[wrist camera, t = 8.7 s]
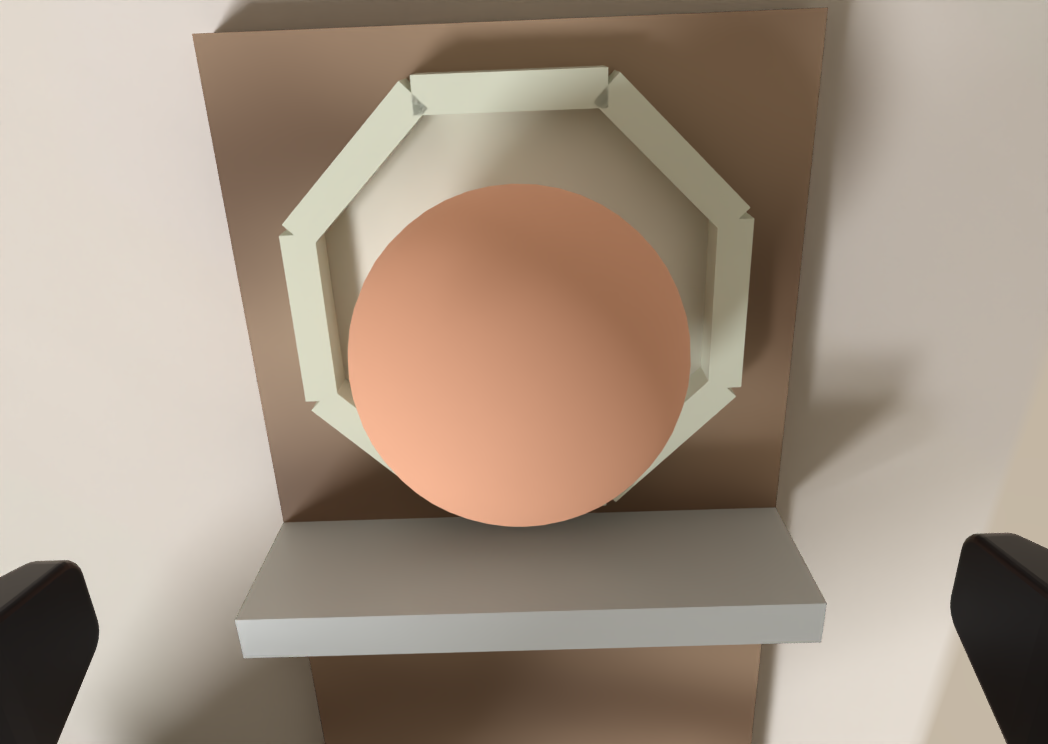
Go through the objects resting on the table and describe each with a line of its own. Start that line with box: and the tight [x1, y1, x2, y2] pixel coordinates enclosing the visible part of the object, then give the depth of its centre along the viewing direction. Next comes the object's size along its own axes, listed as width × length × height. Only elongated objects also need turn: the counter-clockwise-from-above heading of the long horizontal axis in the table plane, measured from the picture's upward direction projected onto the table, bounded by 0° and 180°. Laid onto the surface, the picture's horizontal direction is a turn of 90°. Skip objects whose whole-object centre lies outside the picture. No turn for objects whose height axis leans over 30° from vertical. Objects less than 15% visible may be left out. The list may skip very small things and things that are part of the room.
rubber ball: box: [348, 184, 691, 527], centre depth 14 cm, size 6×6×6 cm
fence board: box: [192, 8, 828, 744], centre depth 18 cm, size 22×12×4 cm, turn 2°
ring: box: [279, 65, 754, 506], centre depth 16 cm, size 9×9×1 cm
